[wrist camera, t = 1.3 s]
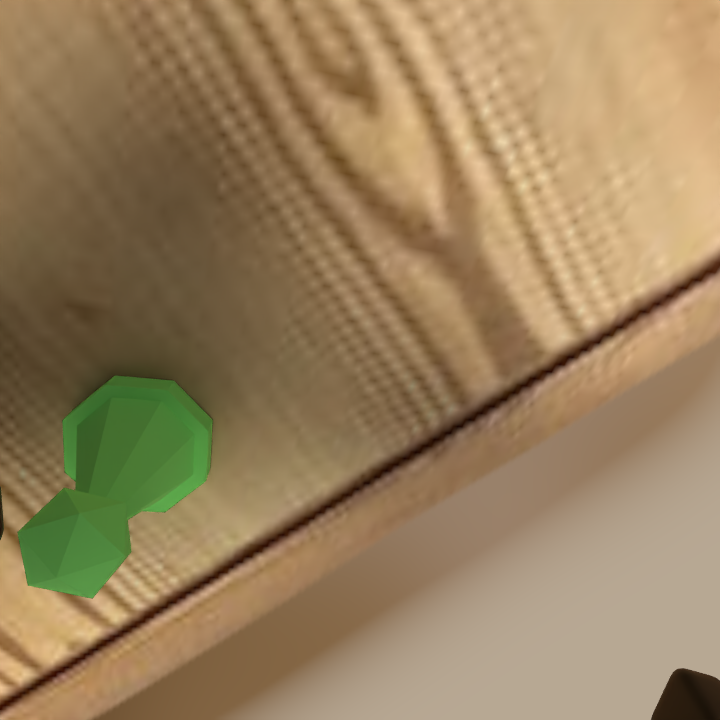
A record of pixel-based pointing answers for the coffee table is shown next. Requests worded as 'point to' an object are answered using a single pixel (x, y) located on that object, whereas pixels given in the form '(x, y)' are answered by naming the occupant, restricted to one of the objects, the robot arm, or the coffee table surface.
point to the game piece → (115, 480)
